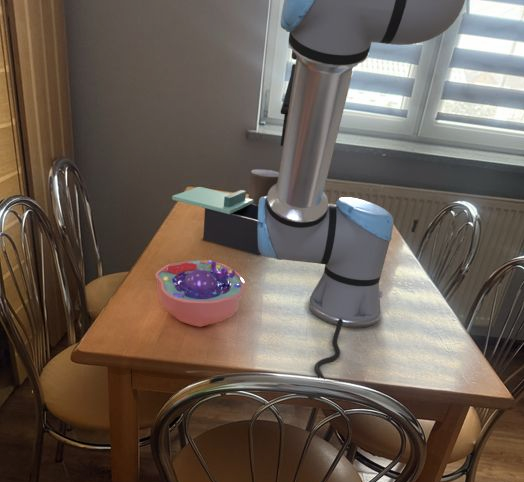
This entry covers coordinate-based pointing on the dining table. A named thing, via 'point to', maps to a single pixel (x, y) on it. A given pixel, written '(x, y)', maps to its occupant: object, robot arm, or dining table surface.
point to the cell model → (199, 291)
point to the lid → (214, 199)
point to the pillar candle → (261, 184)
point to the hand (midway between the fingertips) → (295, 144)
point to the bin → (233, 228)
